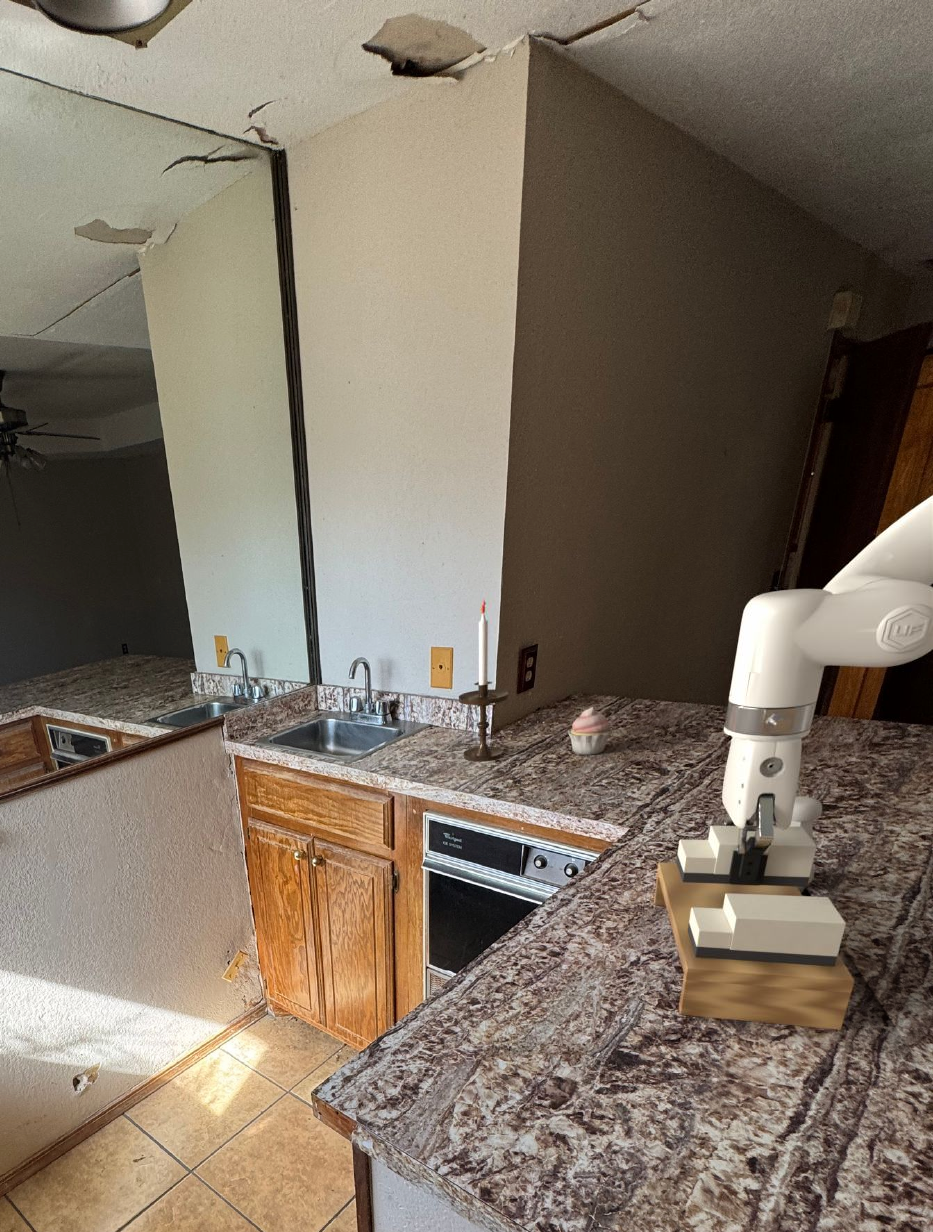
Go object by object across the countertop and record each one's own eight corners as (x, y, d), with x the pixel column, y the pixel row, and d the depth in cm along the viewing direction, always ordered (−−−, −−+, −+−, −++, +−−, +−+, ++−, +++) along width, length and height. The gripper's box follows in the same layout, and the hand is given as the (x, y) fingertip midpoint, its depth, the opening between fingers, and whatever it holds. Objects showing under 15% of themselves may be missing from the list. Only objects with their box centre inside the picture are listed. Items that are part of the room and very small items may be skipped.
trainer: (793, 866, 80) (802, 826, 78) (807, 887, 76) (817, 845, 74) (675, 862, 85) (681, 825, 83) (682, 882, 80) (688, 843, 78)
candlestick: (510, 760, 158) (513, 597, 143) (461, 764, 160) (459, 604, 145) (503, 747, 168) (506, 593, 152) (457, 751, 170) (455, 600, 155)
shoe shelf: (774, 906, 90) (783, 865, 87) (840, 1030, 69) (855, 980, 66) (653, 901, 95) (658, 862, 93) (680, 1014, 74) (687, 968, 71)
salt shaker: (754, 878, 97) (772, 791, 91) (805, 881, 94) (826, 791, 89) (760, 897, 92) (778, 806, 87) (813, 901, 90) (835, 808, 84)
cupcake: (608, 757, 150) (611, 712, 146) (562, 756, 155) (565, 712, 151) (614, 745, 157) (618, 701, 153) (570, 744, 162) (573, 702, 158)
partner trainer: (817, 938, 73) (828, 896, 71) (834, 966, 68) (846, 923, 66) (687, 931, 77) (693, 892, 75) (695, 957, 73) (701, 916, 71)
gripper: (839, 739, 64) (798, 908, 72) (789, 697, 78) (759, 843, 86) (743, 741, 67) (714, 904, 75) (711, 700, 81) (690, 841, 89)
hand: (738, 870), depth 80 cm, fingers closed on trainer, 5 cm apart
